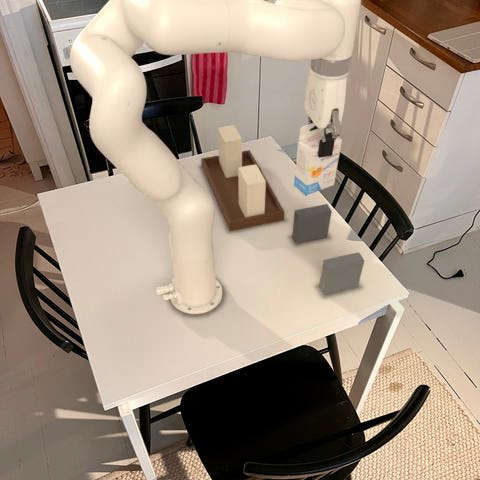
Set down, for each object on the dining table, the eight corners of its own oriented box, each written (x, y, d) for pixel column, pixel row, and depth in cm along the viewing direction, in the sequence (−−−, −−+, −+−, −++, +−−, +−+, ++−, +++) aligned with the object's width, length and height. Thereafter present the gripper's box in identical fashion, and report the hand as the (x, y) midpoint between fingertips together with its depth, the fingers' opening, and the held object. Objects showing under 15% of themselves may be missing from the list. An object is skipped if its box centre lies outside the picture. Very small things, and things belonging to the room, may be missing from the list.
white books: (247, 221, 137) (247, 184, 128) (219, 163, 155) (217, 127, 146) (264, 218, 138) (265, 181, 129) (234, 160, 156) (234, 124, 147)
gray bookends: (323, 295, 121) (328, 268, 115) (291, 237, 135) (294, 210, 128) (357, 287, 123) (364, 260, 116) (322, 230, 136) (327, 203, 130)
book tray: (229, 231, 136) (229, 222, 134) (201, 166, 156) (201, 158, 153) (283, 220, 139) (284, 211, 137) (249, 158, 159) (249, 150, 156)
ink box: (305, 196, 115) (313, 137, 103) (293, 185, 117) (298, 126, 106) (335, 185, 117) (345, 126, 106) (321, 174, 120) (330, 116, 109)
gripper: (297, 46, 101) (289, 130, 114) (329, 85, 90) (317, 172, 104) (331, 42, 102) (320, 125, 116) (367, 80, 91) (350, 167, 105)
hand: (319, 147), depth 110 cm, fingers closed on ink box, 6 cm apart
